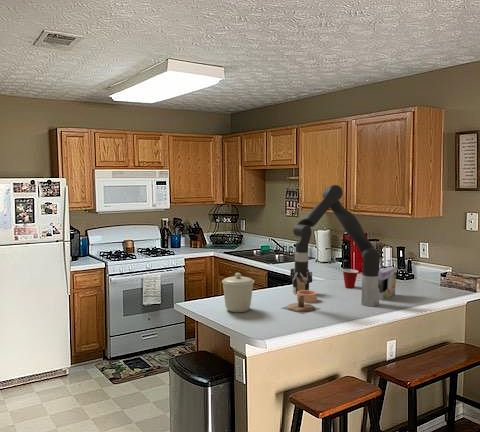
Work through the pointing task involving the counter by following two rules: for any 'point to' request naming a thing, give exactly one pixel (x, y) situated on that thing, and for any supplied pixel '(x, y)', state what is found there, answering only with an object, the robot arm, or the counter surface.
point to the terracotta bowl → (308, 295)
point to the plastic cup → (350, 277)
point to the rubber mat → (301, 312)
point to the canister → (237, 293)
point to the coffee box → (299, 285)
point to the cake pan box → (386, 282)
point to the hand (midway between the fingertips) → (300, 288)
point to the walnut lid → (301, 306)
